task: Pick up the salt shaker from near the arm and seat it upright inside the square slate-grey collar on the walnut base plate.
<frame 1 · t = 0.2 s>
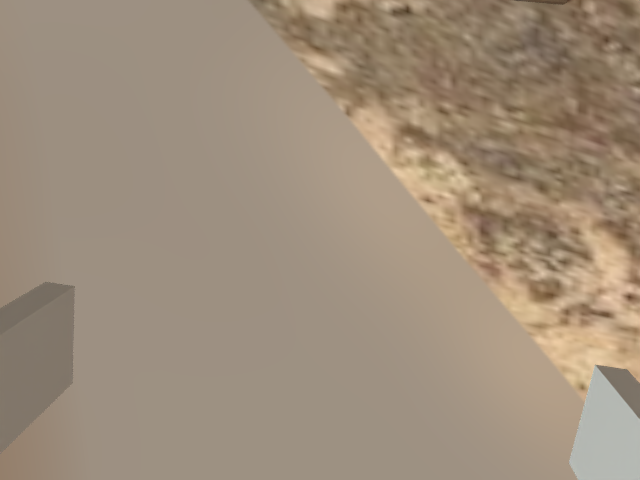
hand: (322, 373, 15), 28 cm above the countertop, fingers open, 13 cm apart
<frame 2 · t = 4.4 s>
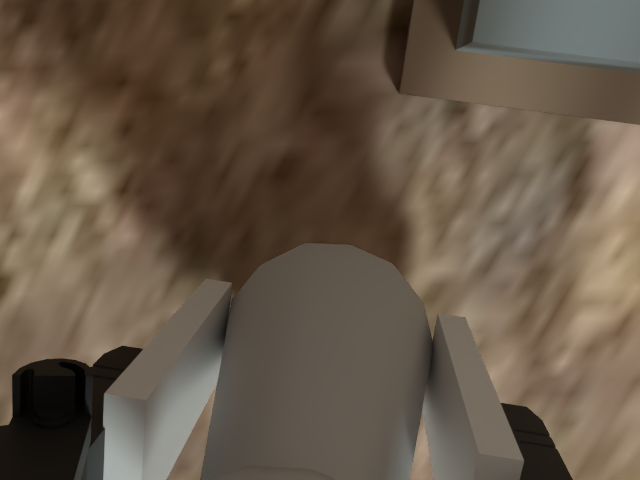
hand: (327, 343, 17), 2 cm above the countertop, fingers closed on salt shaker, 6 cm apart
salt shaker: (333, 310, 19), on the countertop, touching gripper
when the fingers open (5 cm above the countertop, at t = 10.5 s): salt shaker drops 1 cm, resting on collar socket.
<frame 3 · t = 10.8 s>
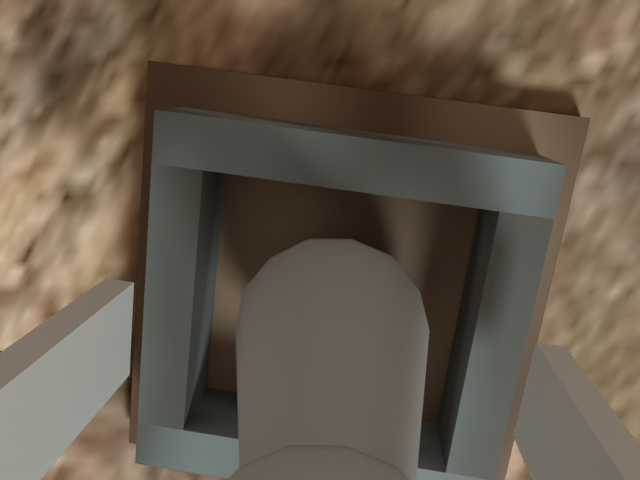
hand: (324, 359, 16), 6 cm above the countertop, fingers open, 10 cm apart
salt shaker: (333, 298, 20), point 1 cm above the countertop, touching collar socket
collar socket: (336, 289, 21), on the countertop
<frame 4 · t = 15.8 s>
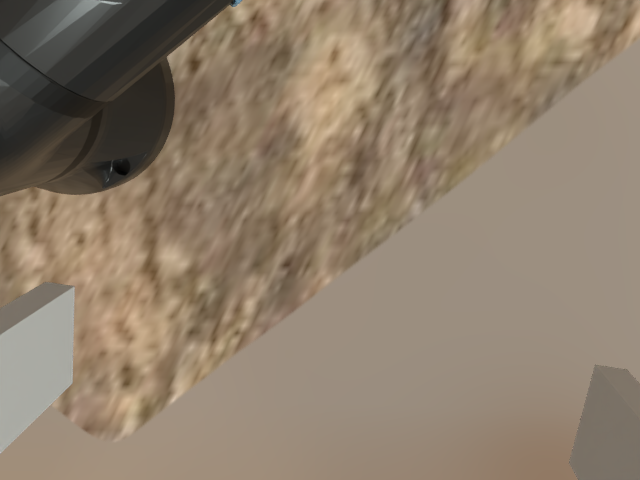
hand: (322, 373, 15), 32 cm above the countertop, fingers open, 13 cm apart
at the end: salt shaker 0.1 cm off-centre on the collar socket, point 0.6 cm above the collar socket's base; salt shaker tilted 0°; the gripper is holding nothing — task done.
